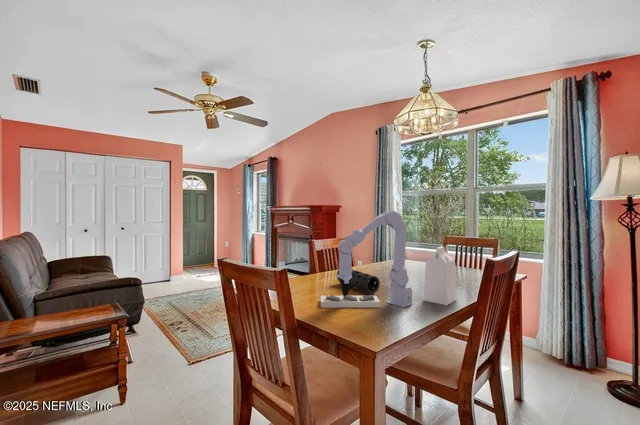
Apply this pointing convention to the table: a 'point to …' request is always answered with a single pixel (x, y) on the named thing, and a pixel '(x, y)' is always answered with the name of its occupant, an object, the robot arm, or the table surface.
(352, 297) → the middle rocker
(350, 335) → the table surface
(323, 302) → the switch strip
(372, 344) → the table surface
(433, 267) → the milk
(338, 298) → the rocker
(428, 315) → the table surface
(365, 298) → the rocker
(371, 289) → the black foam roller
